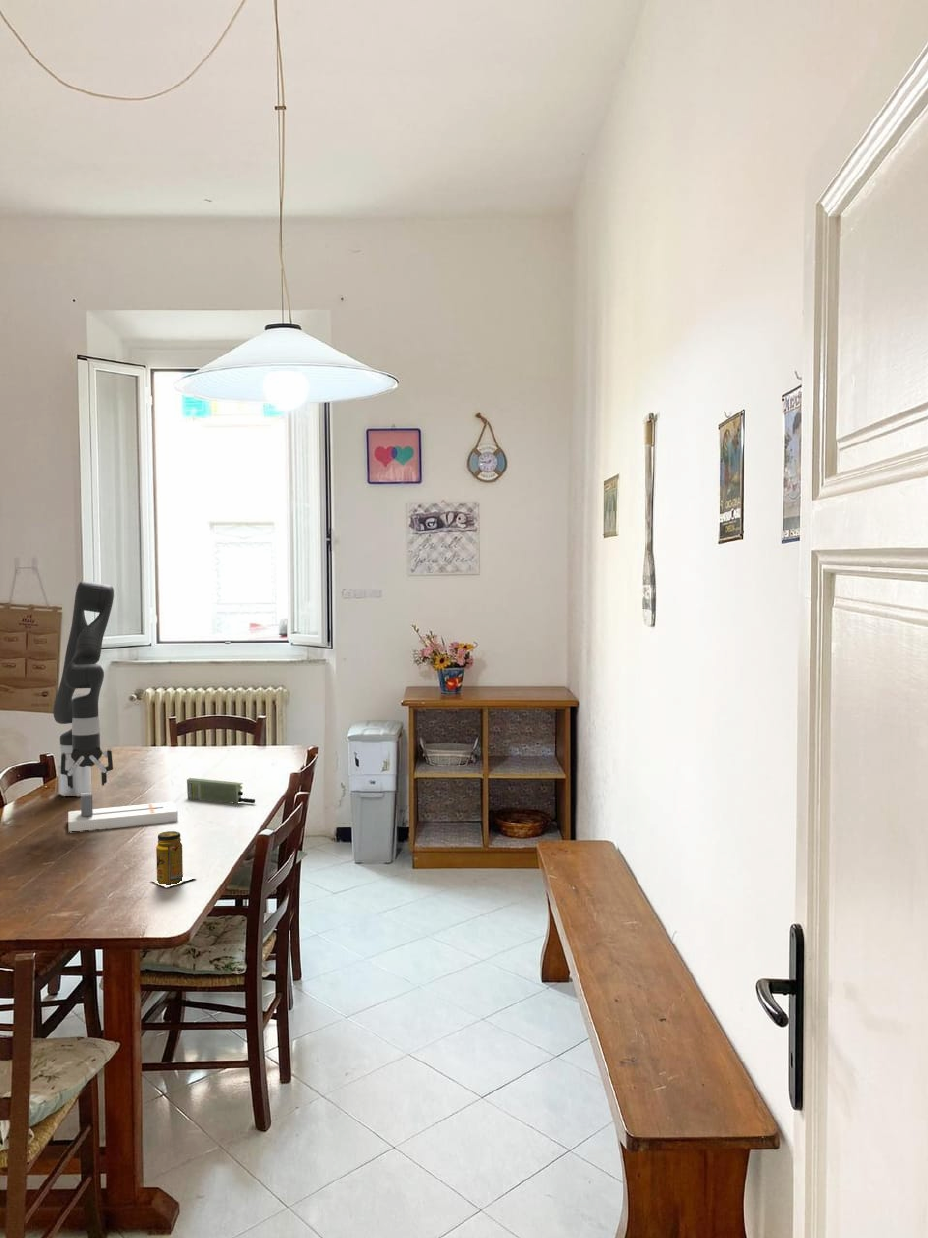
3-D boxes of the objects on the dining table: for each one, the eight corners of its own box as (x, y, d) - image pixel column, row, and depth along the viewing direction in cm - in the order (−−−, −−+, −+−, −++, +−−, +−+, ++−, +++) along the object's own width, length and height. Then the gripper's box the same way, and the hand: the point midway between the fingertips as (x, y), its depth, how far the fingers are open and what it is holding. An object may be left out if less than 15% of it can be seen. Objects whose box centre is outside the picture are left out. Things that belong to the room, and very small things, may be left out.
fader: (81, 816, 263) (81, 796, 262) (81, 812, 267) (80, 791, 267) (92, 815, 264) (92, 794, 264) (92, 811, 269) (91, 790, 268)
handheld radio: (192, 796, 299) (257, 803, 291) (186, 799, 296) (252, 806, 288) (191, 777, 299) (256, 783, 290) (185, 779, 295) (251, 786, 287)
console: (68, 832, 258) (68, 822, 258) (68, 821, 269) (68, 811, 269) (177, 821, 270) (177, 811, 270) (173, 810, 281) (173, 801, 281)
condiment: (149, 882, 219) (148, 834, 219) (180, 873, 226) (179, 826, 225) (166, 889, 215) (165, 840, 214) (197, 880, 221) (196, 832, 220)
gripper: (59, 736, 258) (61, 792, 259) (112, 732, 264) (114, 787, 265) (59, 731, 265) (61, 786, 266) (111, 728, 271) (112, 781, 271)
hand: (87, 786), depth 265 cm, fingers open, 8 cm apart
